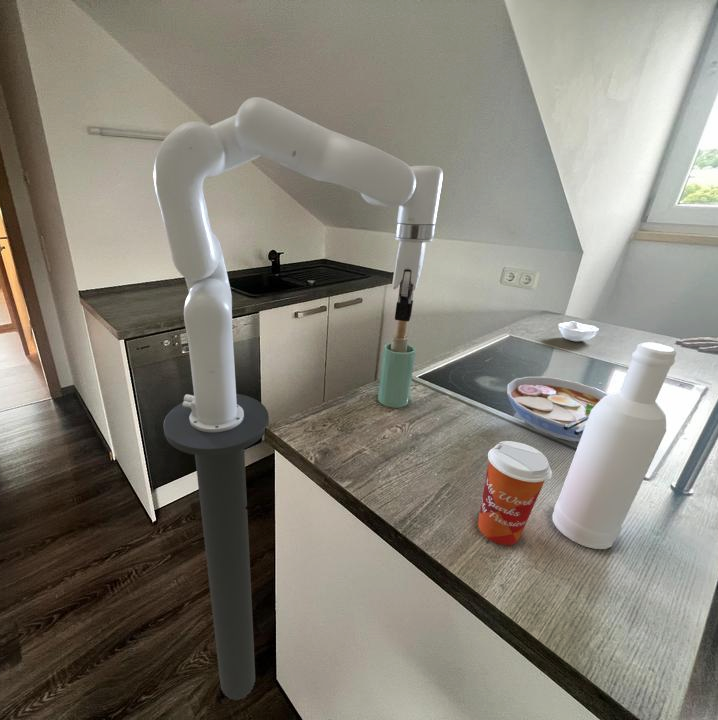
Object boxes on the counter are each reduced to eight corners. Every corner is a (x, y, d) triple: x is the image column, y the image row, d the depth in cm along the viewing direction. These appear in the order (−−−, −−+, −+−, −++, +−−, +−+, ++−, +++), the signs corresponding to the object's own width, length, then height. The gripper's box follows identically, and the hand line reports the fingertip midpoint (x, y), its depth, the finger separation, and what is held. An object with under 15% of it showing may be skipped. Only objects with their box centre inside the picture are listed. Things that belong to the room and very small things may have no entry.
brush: (388, 362, 90) (397, 295, 84) (390, 357, 93) (398, 291, 87) (404, 365, 89) (414, 296, 82) (405, 359, 92) (415, 293, 86)
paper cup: (462, 530, 59) (481, 455, 53) (481, 503, 64) (500, 432, 58) (518, 562, 54) (546, 483, 48) (534, 530, 59) (561, 455, 53)
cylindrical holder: (375, 404, 93) (381, 351, 88) (380, 391, 100) (386, 340, 94) (406, 410, 91) (414, 355, 85) (409, 396, 97) (417, 344, 92)
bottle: (617, 560, 54) (712, 365, 42) (551, 535, 58) (621, 350, 46) (610, 522, 60) (691, 343, 48) (551, 502, 64) (612, 331, 52)
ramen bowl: (537, 394, 99) (546, 364, 95) (648, 440, 80) (663, 406, 77) (473, 419, 87) (481, 387, 84) (585, 480, 69) (600, 442, 66)
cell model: (602, 345, 130) (609, 326, 128) (566, 344, 131) (572, 325, 128) (582, 335, 140) (588, 317, 137) (548, 334, 140) (553, 316, 137)
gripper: (400, 229, 88) (390, 307, 95) (391, 235, 74) (380, 327, 81) (435, 230, 85) (422, 311, 92) (432, 237, 71) (417, 331, 79)
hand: (402, 318), depth 87 cm, fingers closed on brush, 2 cm apart
